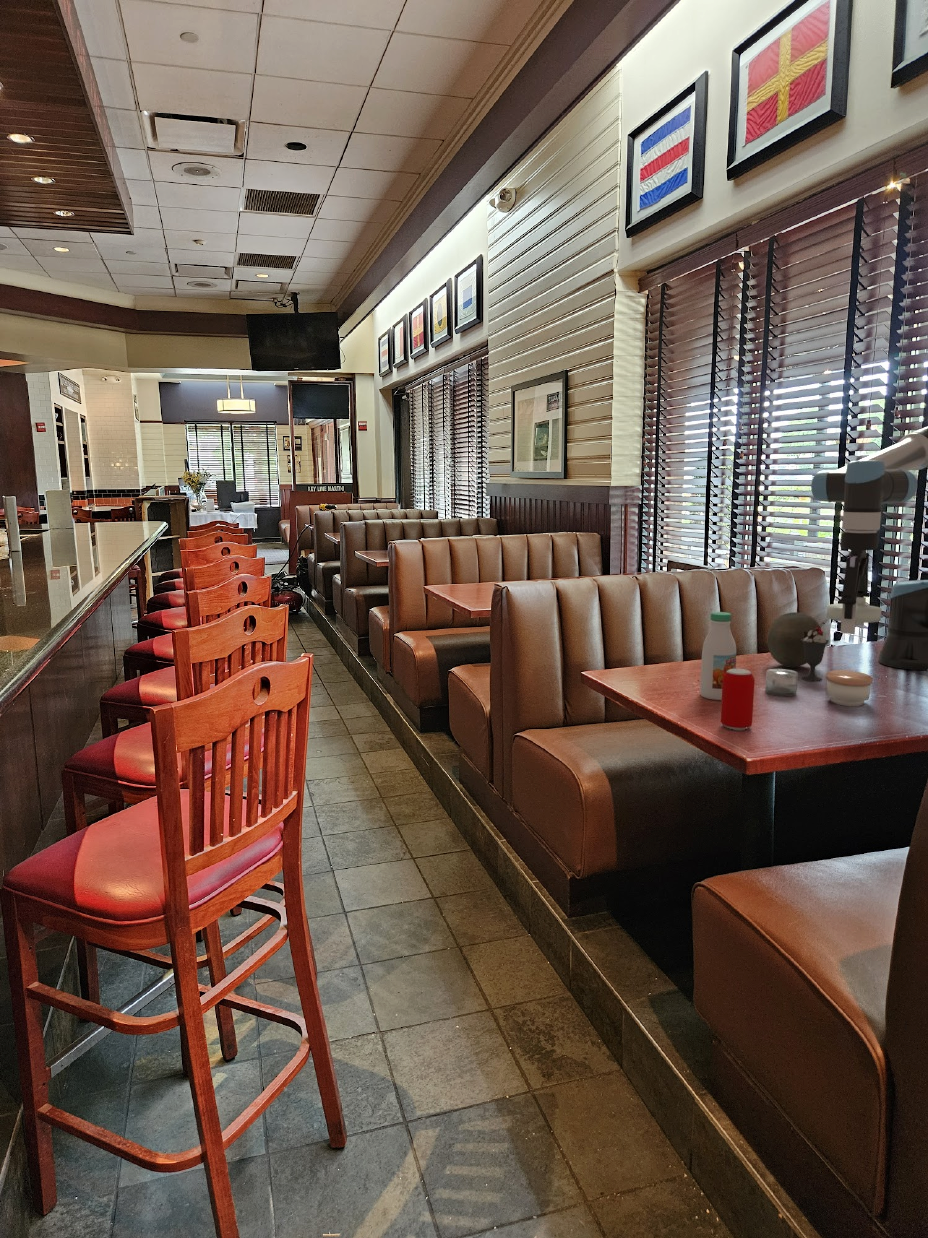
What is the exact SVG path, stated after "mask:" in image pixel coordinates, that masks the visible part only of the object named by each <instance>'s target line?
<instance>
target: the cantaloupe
mask: <svg viewBox="0 0 928 1238" xmlns="http://www.w3.org/2000/svg"><path fill="white" fill-rule="evenodd" d="M820 625H821V624H820V623H819V622H818V621H817V619H815V618H814V617H813V616H811V615H809V614H805V613H803V612H787V613H783V614H781V615H780V616H778V617H777V618H776V619H775V620H773V622H772V624H771V626H770V629H769V631H768V633H767V638H766V639H767V641H766V642H767V647H768V651H769V653H770V655H771V657H772V658H773V660H775V661H776V662H777V663H779V664H780V665H781V666H784V667H785V668H799V667H801V666H804V665H806V664H808V663H807V662H806V661H805V658H804V647H803V641H801V640H800V639H802V638H804V631H807V632H809V631H811V630H814V629H816V628H817V627H819V626H820ZM820 627H821V626H820ZM820 627H819V628H820Z"/></svg>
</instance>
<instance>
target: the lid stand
mask: <svg viewBox="0 0 928 1238" xmlns="http://www.w3.org/2000/svg"><path fill="white" fill-rule="evenodd" d="M798 677H799V673H798V671H795V670H792V669H784V668H770V669H767V670H766V673H765V686H764V688H765V690H764V692H765V693H766V694H768V695H771V694H772V695H771V696H776V697H794V696H796V695H797V692H798V680H799V679H798Z"/></svg>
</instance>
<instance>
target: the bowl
mask: <svg viewBox="0 0 928 1238" xmlns="http://www.w3.org/2000/svg"><path fill="white" fill-rule="evenodd" d="M825 674H826V675H825V678H826V687H825V689H826V690H825V694H826V695H827V696H828V697H829V698H830V699H829V701H831V702H832V704H833V703H834V704H836V705H839V706H845V707H861V706H863V705H864V704H865V702H866V701H868V700H870V693H871V685H872V684H873V681H874V678H873V676H871V675H869V674H868V673H865V672H861V671H856V670H847V669H845V670H844V669H835V670H830V671H828V672H826V673H825Z"/></svg>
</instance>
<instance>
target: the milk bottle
mask: <svg viewBox="0 0 928 1238" xmlns="http://www.w3.org/2000/svg"><path fill="white" fill-rule="evenodd" d="M709 622H710V623H711V624H710V627H709V631H708V633H707V635H706V637H705V639H704V642H703V644H702V652H701V664H700V665H701V668H700V686H699V687H700V688H699V689H700V690H699V691H700V692H699V693H700V696H701V697H703V698H704V699H708V700H713V701H722V682H723V676H724V674H725V673H726V671H727V670H729V669H737V645H736V644H737V643H736V642H735V638H734V637H733V634H732V631H731V623H732V614H731V613H730V612H724V611H714V612H713V611H712V612H711V613H710V621H709Z"/></svg>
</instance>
